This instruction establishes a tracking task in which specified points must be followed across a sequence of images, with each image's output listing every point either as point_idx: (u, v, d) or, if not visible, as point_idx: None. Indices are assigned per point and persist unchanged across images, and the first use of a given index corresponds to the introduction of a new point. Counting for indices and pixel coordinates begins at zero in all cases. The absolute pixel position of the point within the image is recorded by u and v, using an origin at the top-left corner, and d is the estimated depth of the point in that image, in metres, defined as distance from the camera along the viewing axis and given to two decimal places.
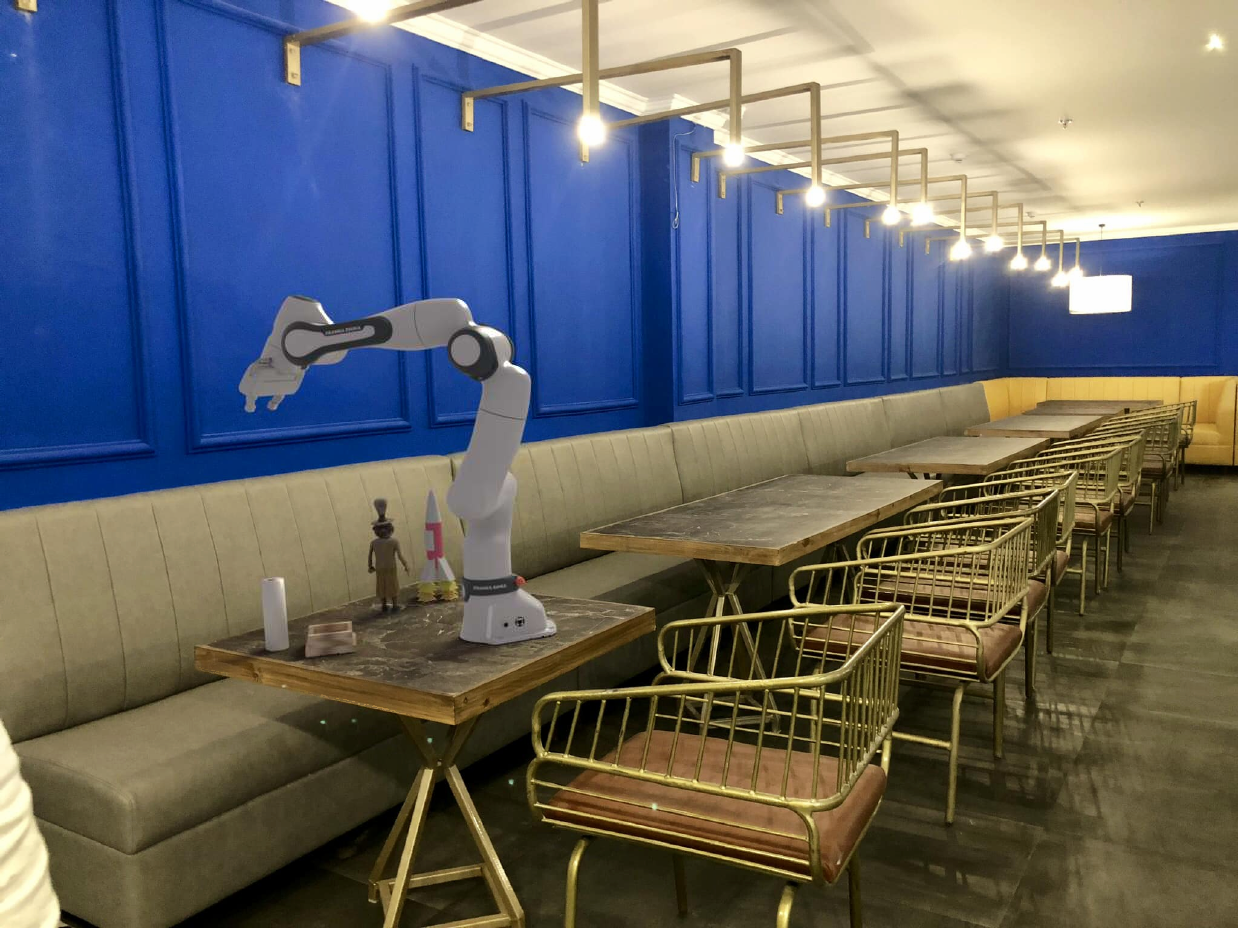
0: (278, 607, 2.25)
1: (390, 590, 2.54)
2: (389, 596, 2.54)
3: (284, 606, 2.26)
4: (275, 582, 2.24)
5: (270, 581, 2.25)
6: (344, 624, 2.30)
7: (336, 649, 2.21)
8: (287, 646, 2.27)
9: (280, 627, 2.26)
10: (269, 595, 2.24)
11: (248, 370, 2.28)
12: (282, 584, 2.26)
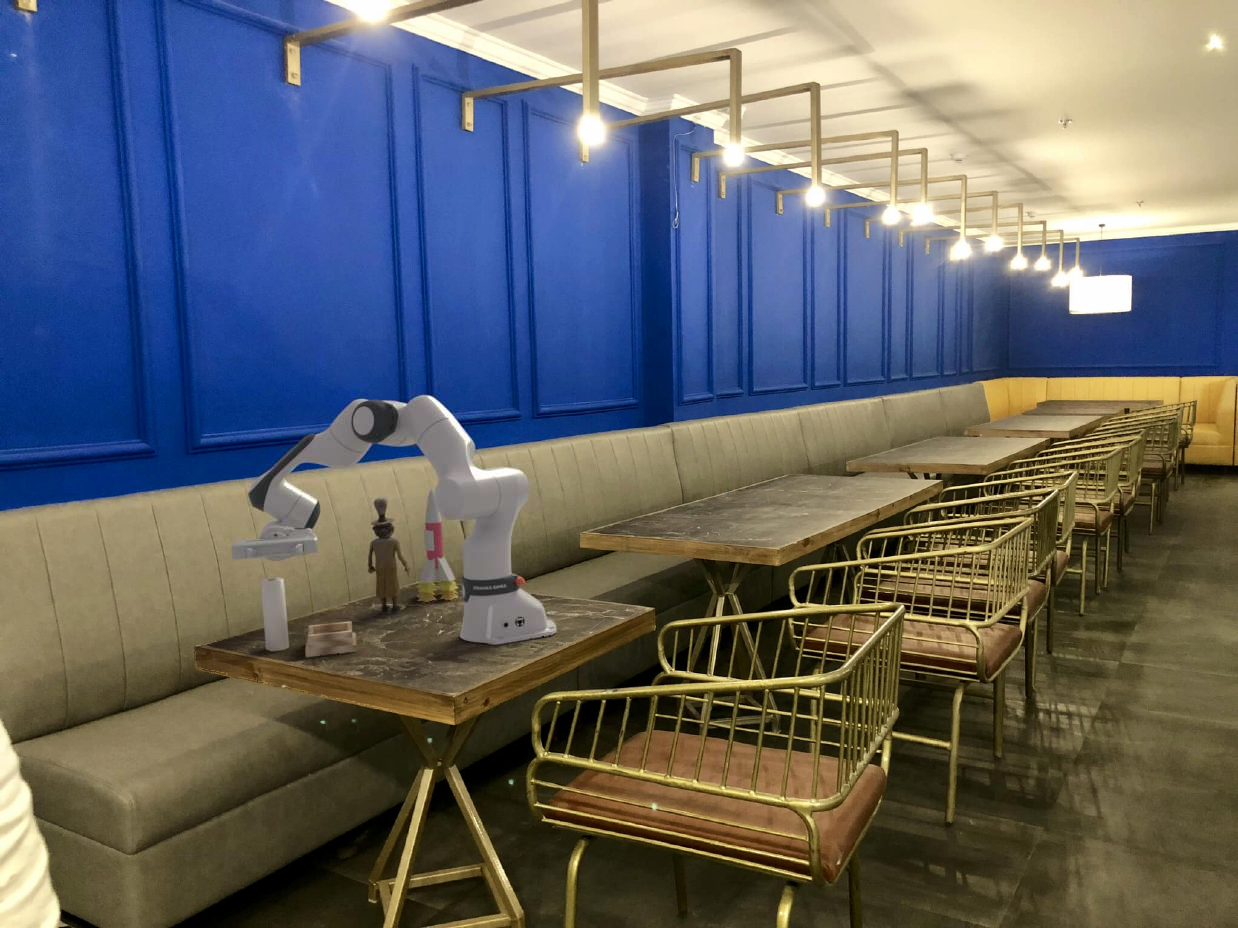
0: (278, 607, 2.25)
1: (390, 590, 2.54)
2: (389, 596, 2.54)
3: (284, 606, 2.26)
4: (275, 582, 2.24)
5: (270, 581, 2.25)
6: (344, 624, 2.30)
7: (336, 649, 2.21)
8: (287, 646, 2.27)
9: (280, 627, 2.26)
10: (269, 595, 2.24)
11: None
12: (282, 584, 2.26)
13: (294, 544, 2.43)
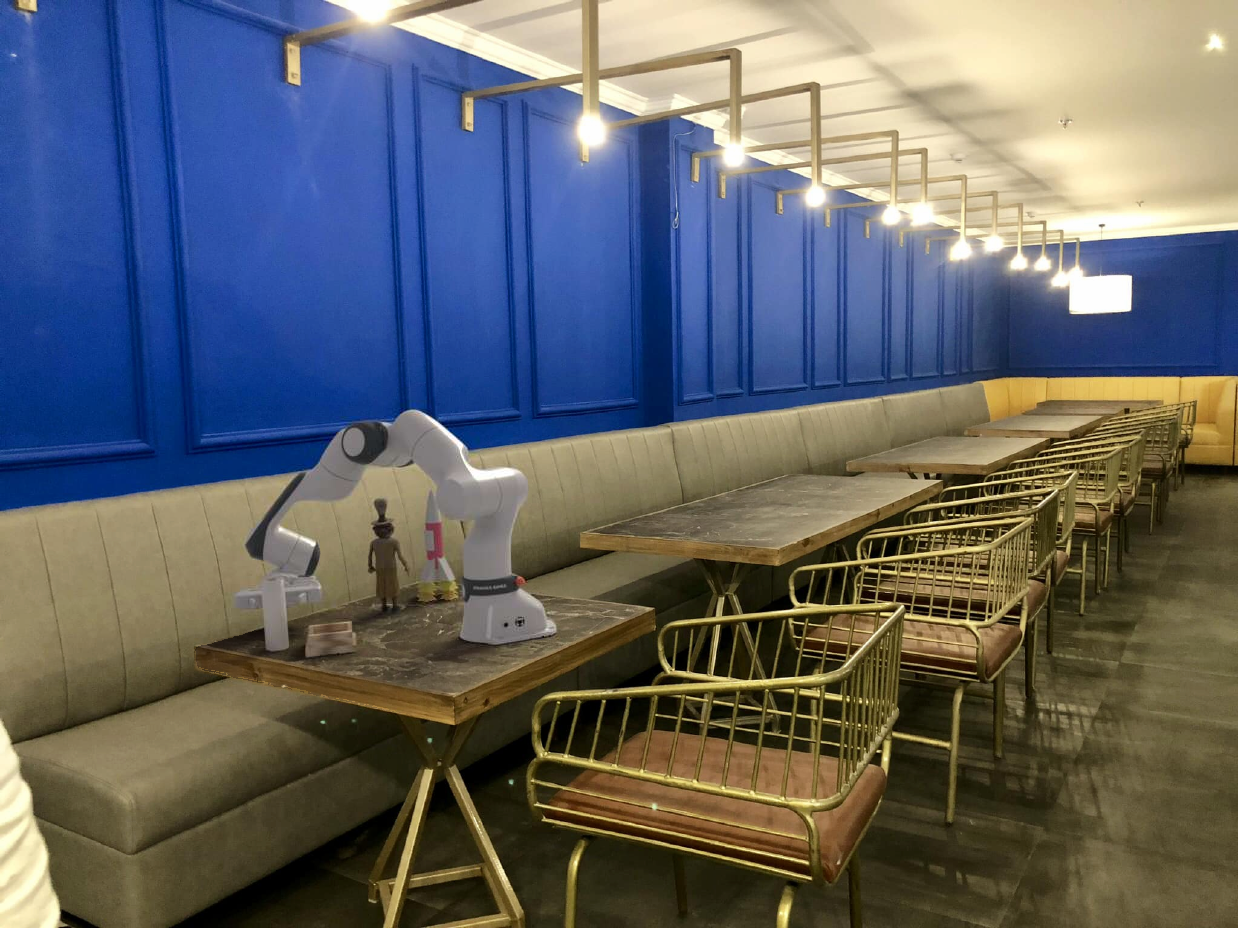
0: (278, 607, 2.25)
1: (390, 590, 2.54)
2: (389, 596, 2.54)
3: (284, 606, 2.26)
4: (275, 582, 2.24)
5: (270, 581, 2.25)
6: (344, 624, 2.30)
7: (336, 649, 2.21)
8: (287, 646, 2.27)
9: (280, 627, 2.26)
10: (269, 595, 2.24)
11: None
12: (282, 584, 2.26)
13: (298, 593, 2.40)
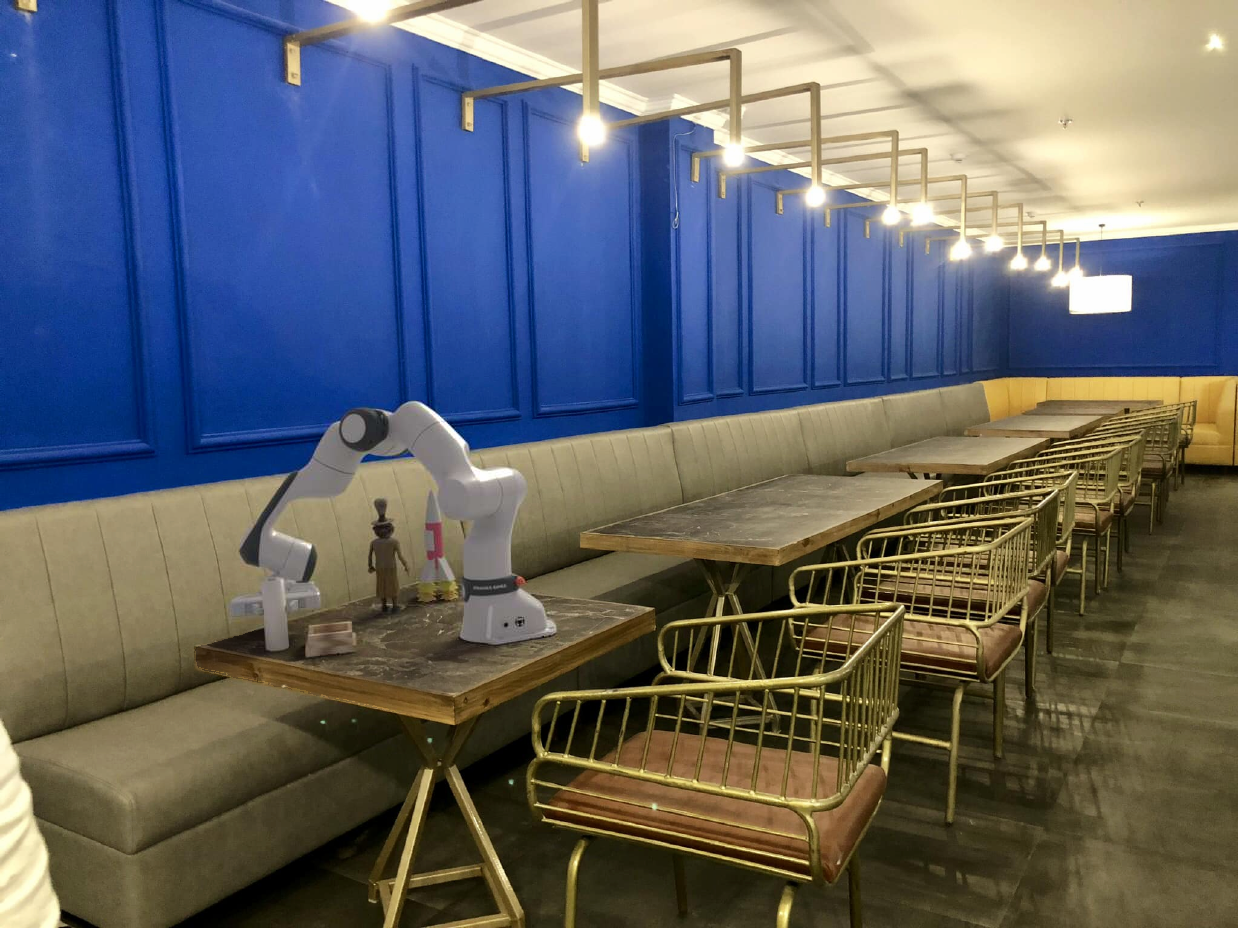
0: (278, 607, 2.25)
1: (390, 590, 2.54)
2: (389, 596, 2.54)
3: (284, 606, 2.26)
4: (275, 582, 2.24)
5: (270, 581, 2.25)
6: (344, 624, 2.30)
7: (336, 649, 2.21)
8: (287, 646, 2.27)
9: (280, 627, 2.26)
10: (269, 595, 2.24)
11: None
12: (282, 584, 2.26)
13: (289, 600, 2.32)
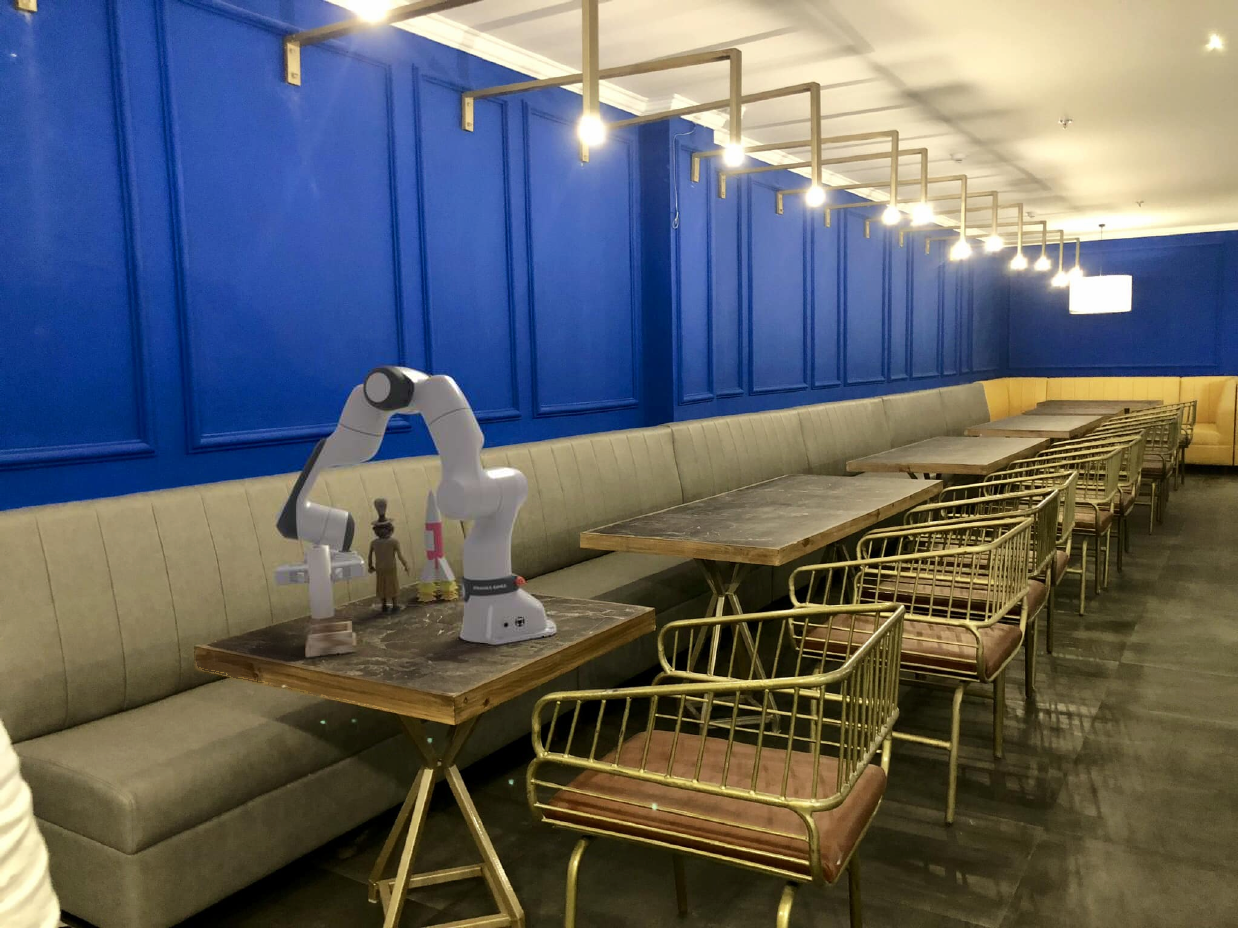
0: (324, 574, 2.23)
1: (390, 590, 2.54)
2: (389, 596, 2.54)
3: (329, 573, 2.24)
4: (321, 549, 2.22)
5: (316, 548, 2.22)
6: (344, 624, 2.30)
7: (336, 649, 2.21)
8: (333, 614, 2.25)
9: (326, 594, 2.23)
10: (315, 562, 2.22)
11: None
12: (327, 551, 2.23)
13: (333, 569, 2.29)
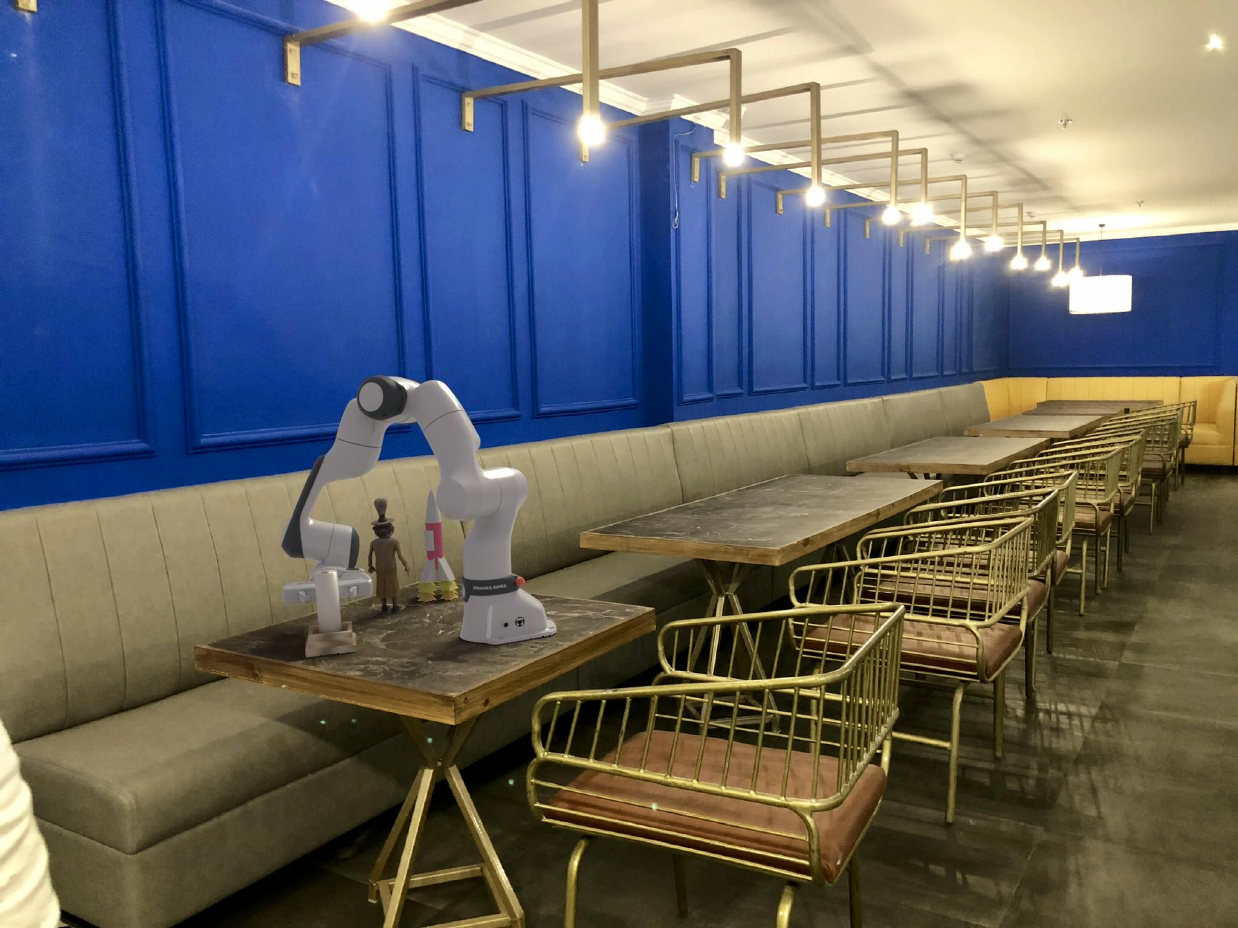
0: (332, 600, 2.23)
1: (390, 590, 2.54)
2: (389, 596, 2.54)
3: (338, 599, 2.25)
4: (329, 574, 2.23)
5: (323, 574, 2.23)
6: (344, 624, 2.30)
7: (336, 649, 2.21)
8: None
9: (334, 620, 2.24)
10: (323, 588, 2.22)
11: None
12: (335, 576, 2.24)
13: (348, 587, 2.30)
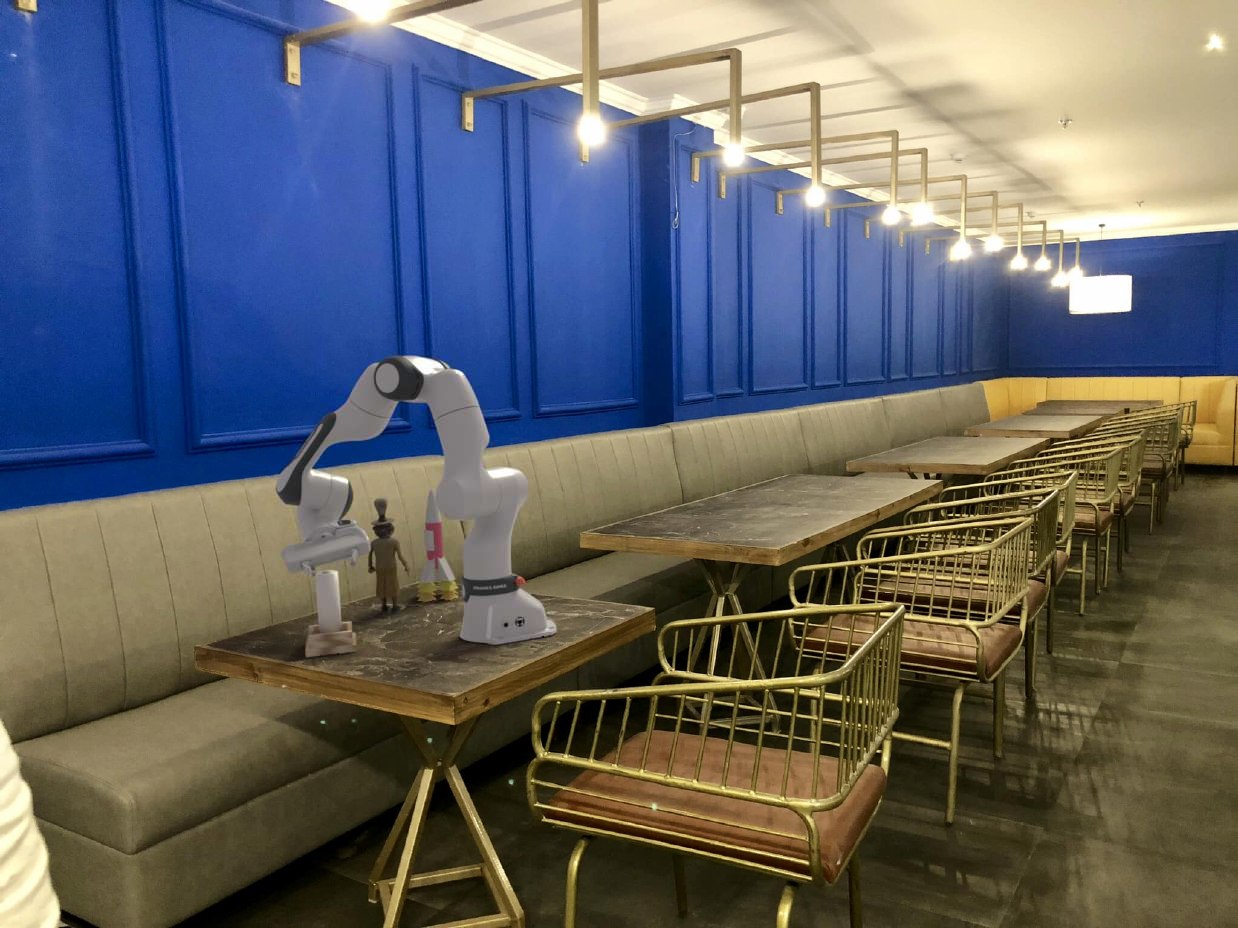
0: (332, 600, 2.23)
1: (390, 590, 2.54)
2: (389, 596, 2.54)
3: (338, 599, 2.25)
4: (330, 575, 2.23)
5: (325, 574, 2.23)
6: (344, 624, 2.30)
7: (336, 649, 2.21)
8: None
9: (335, 620, 2.24)
10: (324, 588, 2.22)
11: None
12: (336, 577, 2.24)
13: (347, 549, 2.40)
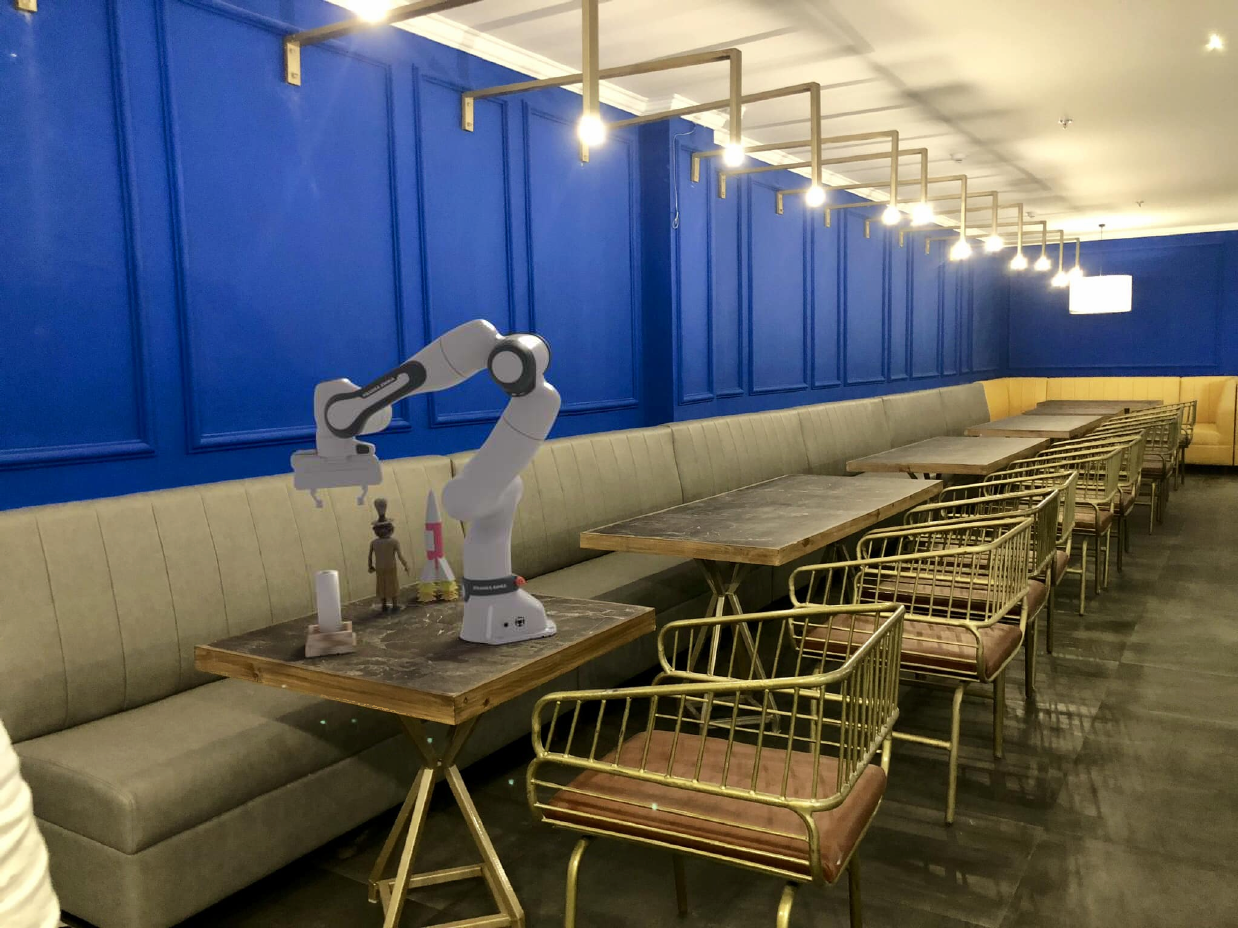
0: (332, 600, 2.23)
1: (390, 590, 2.54)
2: (389, 596, 2.54)
3: (338, 599, 2.25)
4: (330, 575, 2.23)
5: (325, 574, 2.23)
6: (344, 624, 2.30)
7: (336, 649, 2.21)
8: None
9: (335, 620, 2.24)
10: (324, 588, 2.22)
11: None
12: (336, 577, 2.24)
13: None
